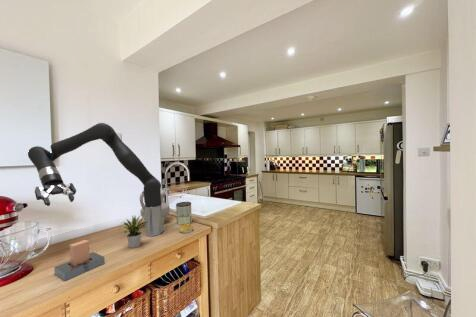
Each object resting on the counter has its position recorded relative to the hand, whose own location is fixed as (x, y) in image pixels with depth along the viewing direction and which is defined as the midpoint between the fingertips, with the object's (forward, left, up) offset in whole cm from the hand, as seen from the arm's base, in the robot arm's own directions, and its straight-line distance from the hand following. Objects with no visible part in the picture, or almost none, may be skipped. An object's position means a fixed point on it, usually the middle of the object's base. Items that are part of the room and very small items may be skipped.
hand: (61, 202), depth 93 cm
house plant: (-23, +19, -27) cm, 40 cm away
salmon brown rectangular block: (0, +18, -26) cm, 32 cm away
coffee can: (-62, +16, -27) cm, 69 cm away
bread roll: (-52, +27, -27) cm, 65 cm away
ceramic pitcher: (-53, -4, -27) cm, 60 cm away
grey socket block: (0, +18, -27) cm, 32 cm away
